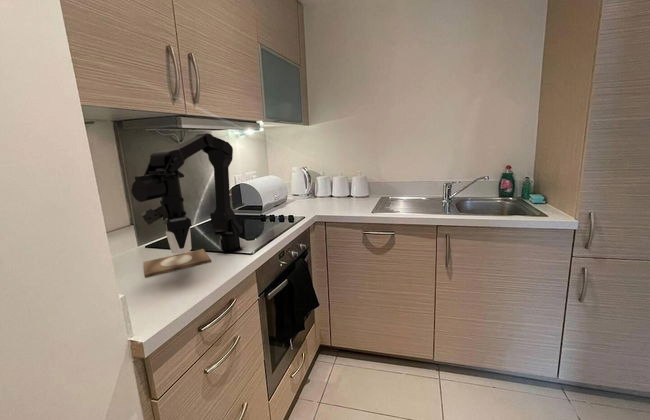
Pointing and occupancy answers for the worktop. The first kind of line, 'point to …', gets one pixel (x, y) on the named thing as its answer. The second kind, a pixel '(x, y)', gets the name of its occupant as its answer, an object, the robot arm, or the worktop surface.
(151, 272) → the serving board
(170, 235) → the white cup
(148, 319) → the worktop surface
